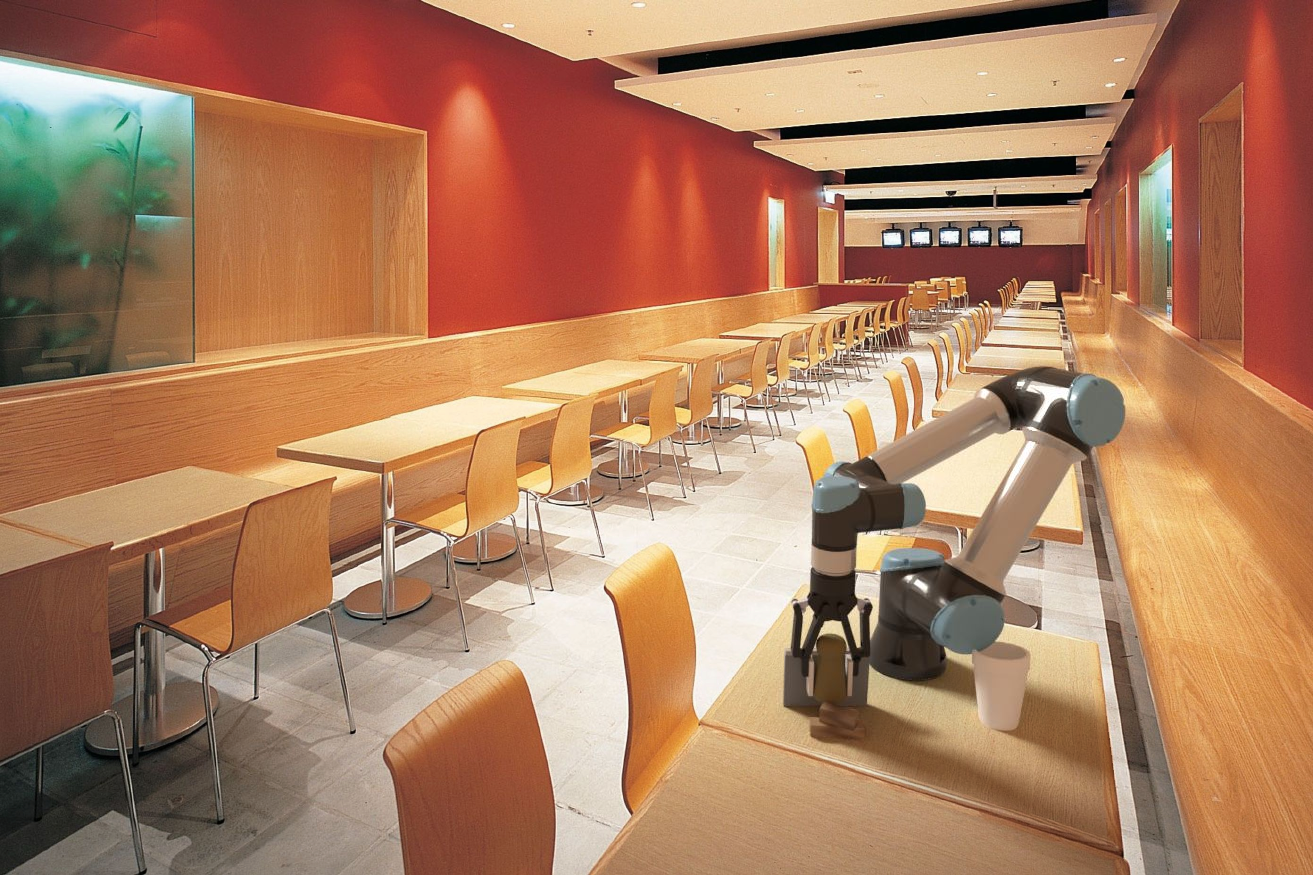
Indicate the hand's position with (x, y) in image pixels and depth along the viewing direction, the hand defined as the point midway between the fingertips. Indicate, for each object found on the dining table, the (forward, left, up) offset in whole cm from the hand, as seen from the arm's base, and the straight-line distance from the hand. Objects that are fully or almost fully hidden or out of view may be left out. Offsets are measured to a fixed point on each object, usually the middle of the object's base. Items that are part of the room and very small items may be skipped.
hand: (828, 691), depth 151 cm
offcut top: (+1, +6, -2) cm, 6 cm away
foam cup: (-28, +8, -5) cm, 30 cm away
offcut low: (+1, +6, -5) cm, 8 cm away
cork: (0, 0, 0) cm, 1 cm away
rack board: (-1, -4, -5) cm, 6 cm away
